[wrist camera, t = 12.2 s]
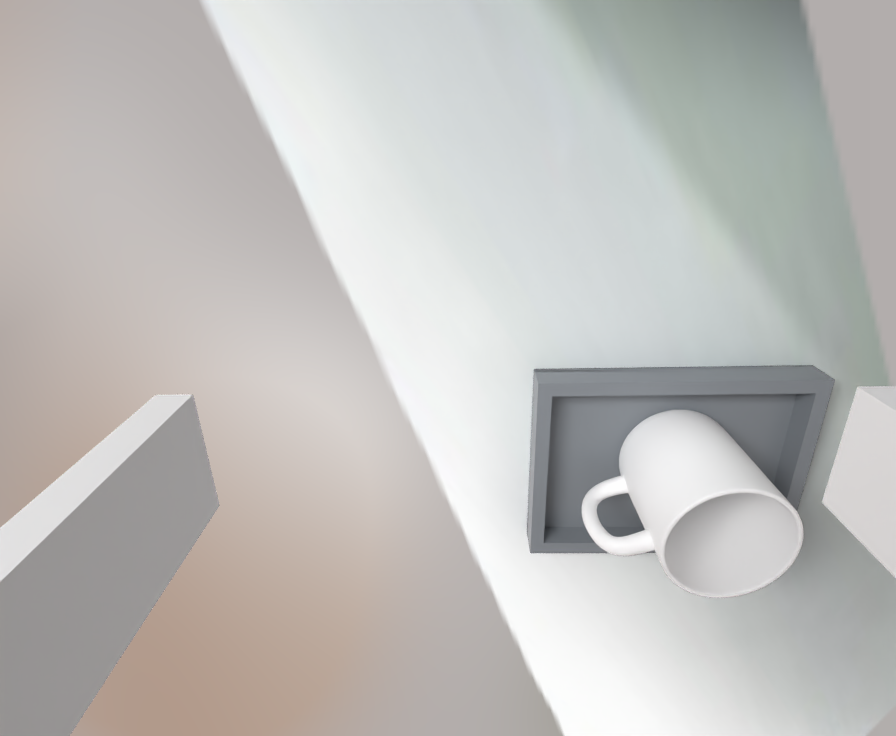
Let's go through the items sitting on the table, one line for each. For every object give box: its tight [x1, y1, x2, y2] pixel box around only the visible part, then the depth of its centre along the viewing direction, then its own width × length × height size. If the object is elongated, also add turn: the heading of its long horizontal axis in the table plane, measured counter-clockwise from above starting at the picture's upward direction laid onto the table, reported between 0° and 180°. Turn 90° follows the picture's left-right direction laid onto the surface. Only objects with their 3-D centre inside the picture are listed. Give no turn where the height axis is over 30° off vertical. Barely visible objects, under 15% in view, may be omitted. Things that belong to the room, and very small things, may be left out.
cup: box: [582, 409, 803, 598], centre depth 37 cm, size 8×12×10 cm
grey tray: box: [527, 365, 835, 553], centre depth 41 cm, size 15×20×2 cm
